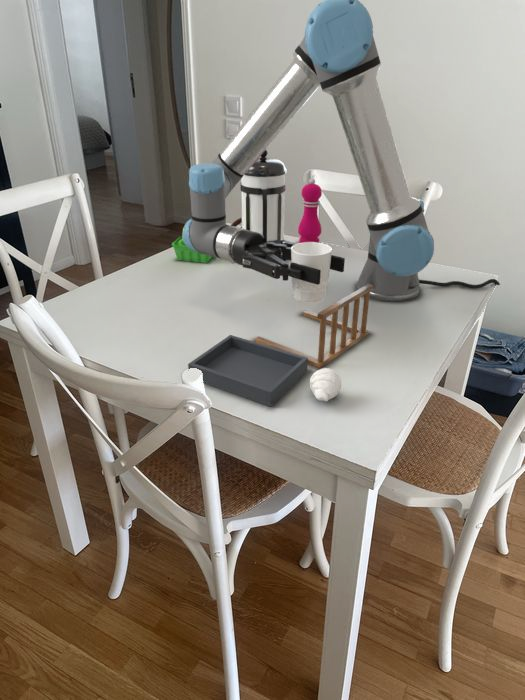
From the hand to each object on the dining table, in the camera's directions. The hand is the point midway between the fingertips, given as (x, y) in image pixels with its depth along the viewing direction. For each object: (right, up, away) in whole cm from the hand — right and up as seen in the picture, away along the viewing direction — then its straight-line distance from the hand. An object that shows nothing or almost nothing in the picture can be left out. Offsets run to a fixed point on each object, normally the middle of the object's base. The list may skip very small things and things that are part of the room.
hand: (331, 271), depth 103 cm
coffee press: (-13, +12, +54) cm, 57 cm away
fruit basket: (-33, +11, +53) cm, 63 cm away
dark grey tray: (-16, -20, -2) cm, 25 cm away
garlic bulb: (-3, -24, -10) cm, 26 cm away
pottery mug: (-18, +20, +69) cm, 75 cm away
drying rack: (-3, -12, +11) cm, 17 cm away
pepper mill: (+1, +18, +65) cm, 68 cm away
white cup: (-4, -4, +6) cm, 8 cm away
